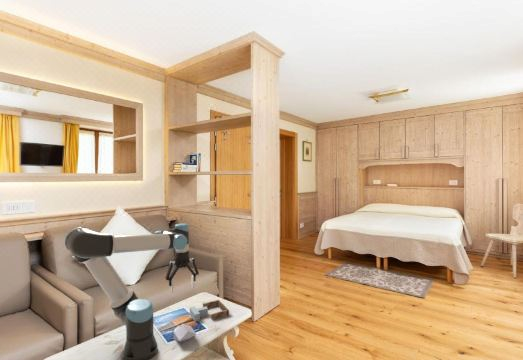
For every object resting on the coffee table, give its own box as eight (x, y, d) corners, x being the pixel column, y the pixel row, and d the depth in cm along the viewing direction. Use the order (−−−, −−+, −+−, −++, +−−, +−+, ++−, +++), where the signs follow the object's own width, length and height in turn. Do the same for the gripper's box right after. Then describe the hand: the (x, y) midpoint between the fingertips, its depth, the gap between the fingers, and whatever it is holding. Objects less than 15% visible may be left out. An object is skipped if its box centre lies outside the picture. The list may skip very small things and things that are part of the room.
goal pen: (212, 319, 164) (212, 314, 163) (202, 308, 178) (202, 303, 178) (228, 315, 169) (228, 310, 169) (218, 304, 183) (218, 299, 183)
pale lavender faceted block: (197, 341, 143) (188, 329, 154) (197, 328, 143) (188, 317, 153) (179, 347, 138) (171, 334, 149) (179, 333, 138) (171, 322, 149)
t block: (194, 321, 162) (194, 314, 162) (189, 314, 170) (189, 307, 170) (210, 317, 166) (209, 310, 166) (204, 310, 175) (204, 304, 175)
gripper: (161, 255, 153) (162, 296, 154) (204, 249, 165) (204, 287, 165) (159, 252, 160) (159, 291, 160) (200, 246, 171) (200, 283, 172)
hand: (182, 289), depth 163 cm, fingers open, 11 cm apart
